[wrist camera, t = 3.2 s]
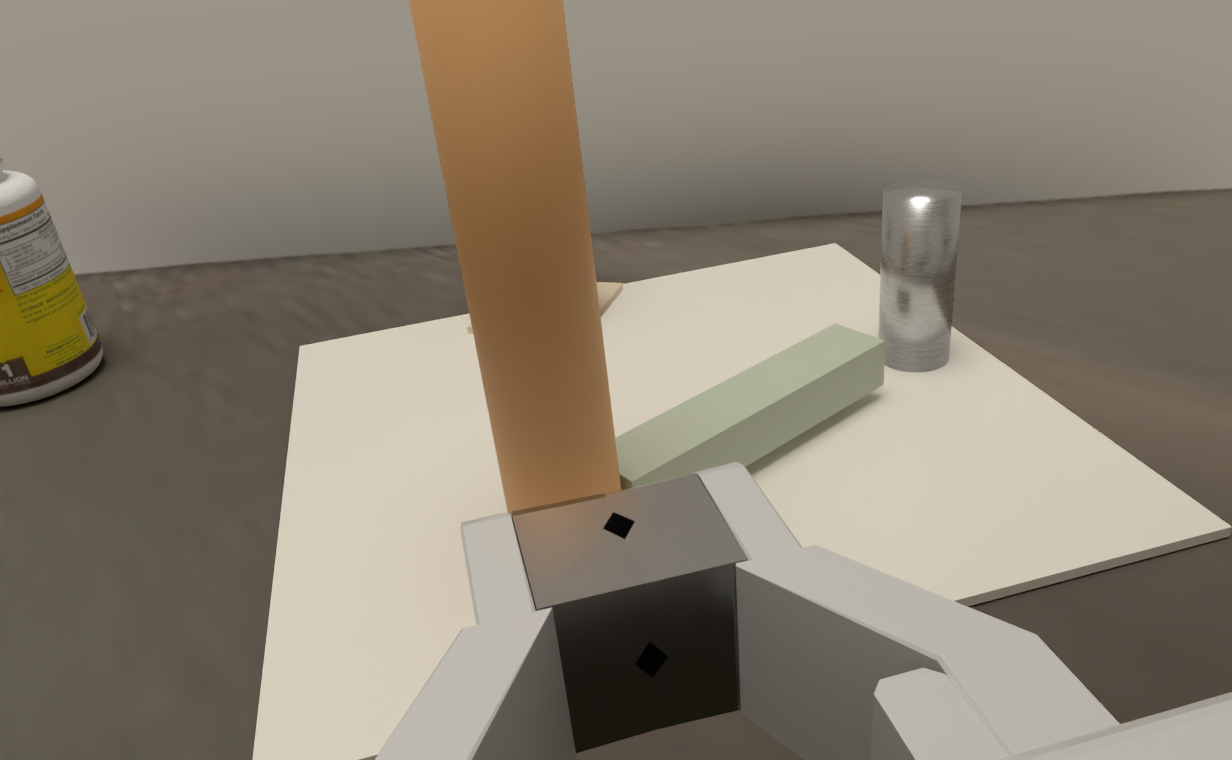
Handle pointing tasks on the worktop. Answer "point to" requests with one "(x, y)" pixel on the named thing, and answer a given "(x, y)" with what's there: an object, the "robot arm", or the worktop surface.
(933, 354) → the post
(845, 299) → the base board
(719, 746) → the worktop surface
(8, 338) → the supplement bottle
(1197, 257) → the worktop surface
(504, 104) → the orange upright dowel
